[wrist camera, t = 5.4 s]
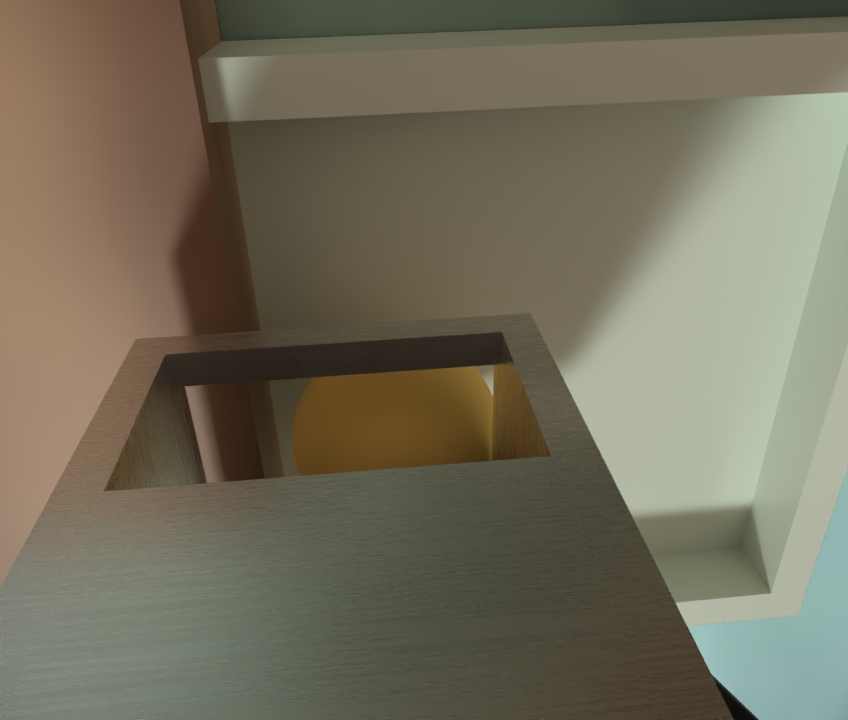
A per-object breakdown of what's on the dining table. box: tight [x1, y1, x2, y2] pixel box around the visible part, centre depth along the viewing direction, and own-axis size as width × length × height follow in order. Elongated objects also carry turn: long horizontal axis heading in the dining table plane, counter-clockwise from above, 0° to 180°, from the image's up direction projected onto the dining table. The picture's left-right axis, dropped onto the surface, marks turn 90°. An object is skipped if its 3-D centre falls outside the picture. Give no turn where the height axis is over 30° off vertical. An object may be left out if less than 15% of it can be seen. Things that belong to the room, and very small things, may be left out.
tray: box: [198, 16, 848, 626], centre depth 13 cm, size 11×12×2 cm
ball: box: [292, 366, 493, 476], centre depth 12 cm, size 4×4×4 cm
